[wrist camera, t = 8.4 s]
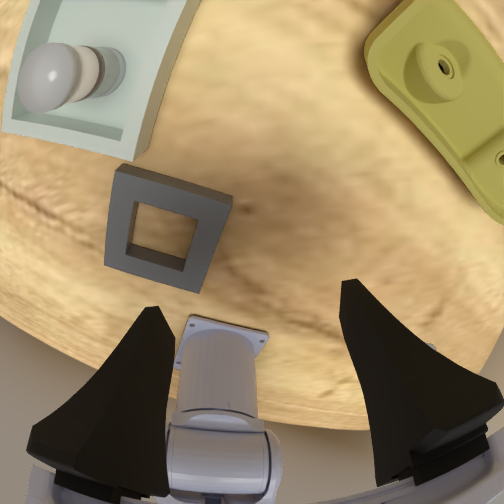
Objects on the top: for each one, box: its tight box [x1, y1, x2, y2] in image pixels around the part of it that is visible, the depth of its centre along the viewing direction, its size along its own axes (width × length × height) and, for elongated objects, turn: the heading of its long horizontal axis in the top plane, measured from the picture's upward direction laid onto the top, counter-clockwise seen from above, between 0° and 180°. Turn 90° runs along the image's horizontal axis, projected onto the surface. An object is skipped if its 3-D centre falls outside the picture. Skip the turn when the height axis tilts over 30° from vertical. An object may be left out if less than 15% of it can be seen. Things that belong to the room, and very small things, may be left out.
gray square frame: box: [104, 164, 233, 294], centre depth 20 cm, size 8×8×2 cm
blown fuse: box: [18, 42, 126, 114], centre depth 11 cm, size 3×3×6 cm
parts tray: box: [1, 0, 201, 162], centre depth 12 cm, size 11×11×3 cm
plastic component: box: [364, 0, 504, 225], centre depth 13 cm, size 20×7×10 cm
